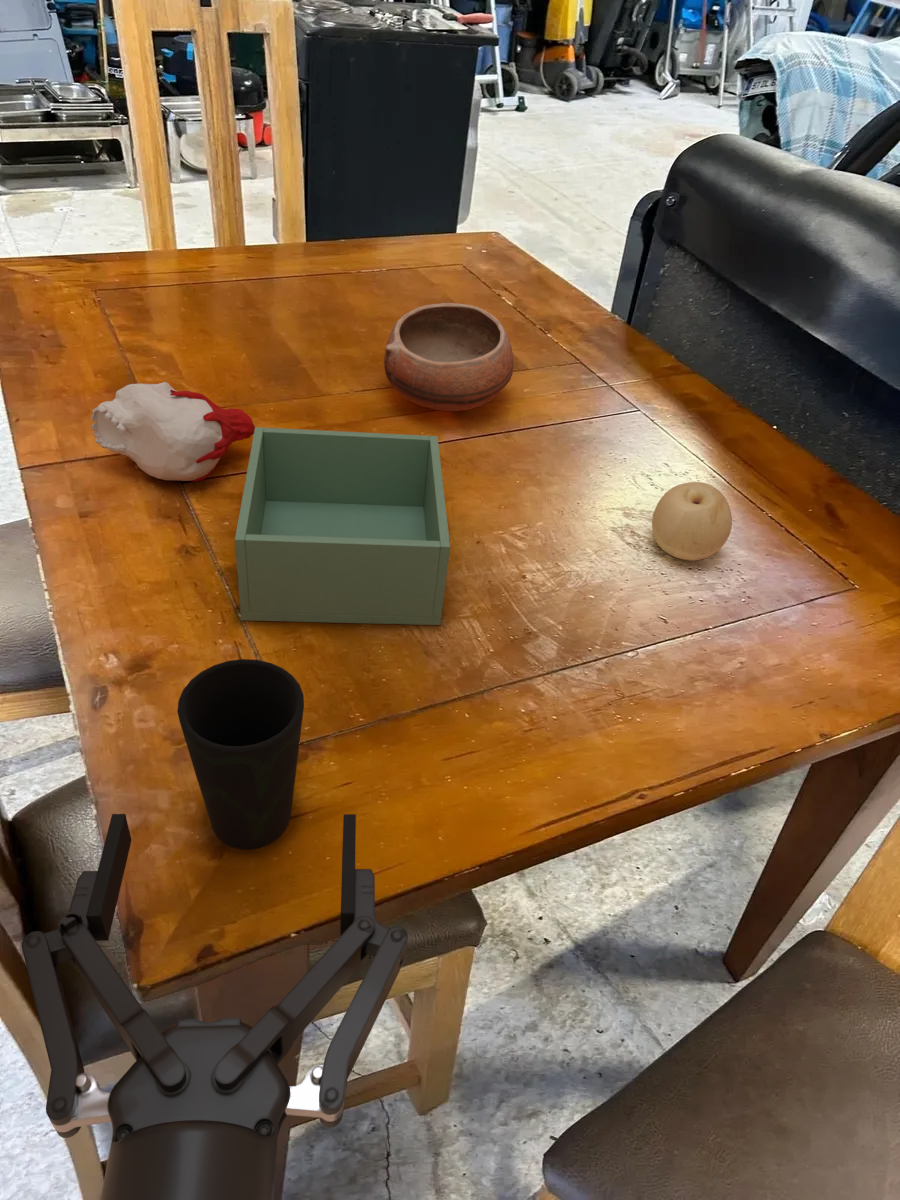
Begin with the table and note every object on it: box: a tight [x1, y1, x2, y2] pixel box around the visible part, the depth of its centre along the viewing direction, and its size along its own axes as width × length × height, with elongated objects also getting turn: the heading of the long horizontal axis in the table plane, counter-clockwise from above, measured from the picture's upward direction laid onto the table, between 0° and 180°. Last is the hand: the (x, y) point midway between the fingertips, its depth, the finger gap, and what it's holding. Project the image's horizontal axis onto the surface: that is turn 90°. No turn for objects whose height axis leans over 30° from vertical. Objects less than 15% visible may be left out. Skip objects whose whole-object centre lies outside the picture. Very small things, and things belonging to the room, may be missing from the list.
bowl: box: [383, 302, 515, 412], centre depth 108 cm, size 16×16×10 cm
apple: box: [651, 481, 733, 561], centre depth 90 cm, size 8×8×8 cm
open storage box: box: [234, 426, 451, 626], centre depth 82 cm, size 18×18×9 cm
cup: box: [176, 658, 305, 850], centre depth 59 cm, size 8×8×12 cm
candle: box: [90, 381, 256, 483], centre depth 92 cm, size 9×11×15 cm
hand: (237, 826), depth 54 cm, fingers open, 13 cm apart
